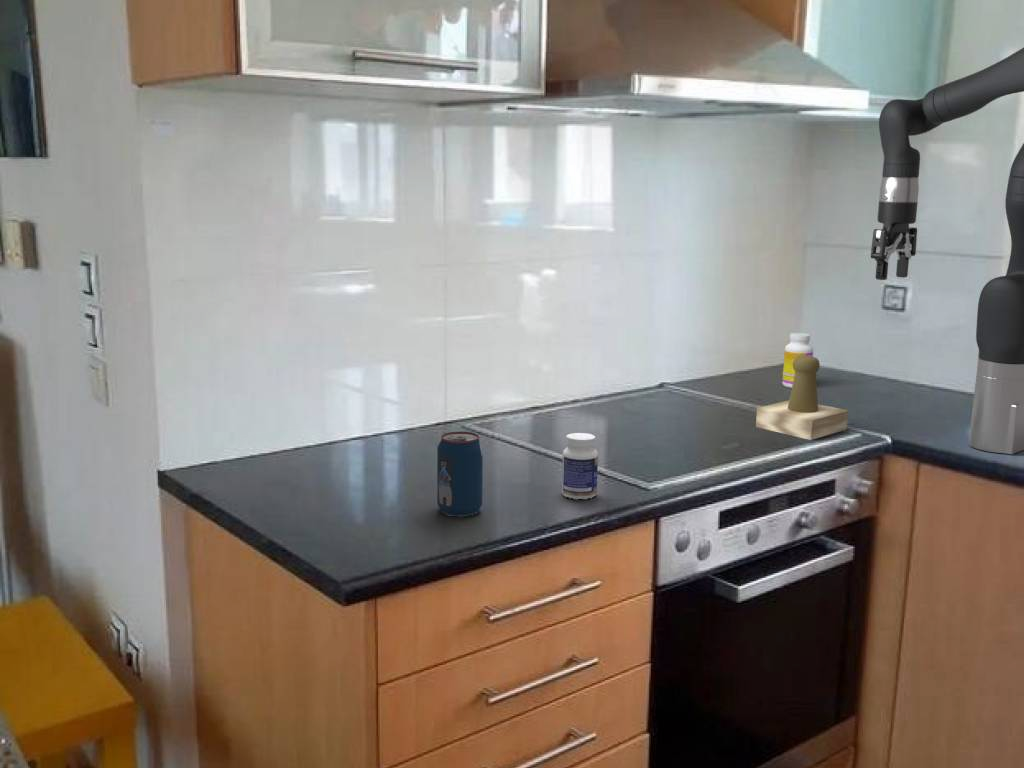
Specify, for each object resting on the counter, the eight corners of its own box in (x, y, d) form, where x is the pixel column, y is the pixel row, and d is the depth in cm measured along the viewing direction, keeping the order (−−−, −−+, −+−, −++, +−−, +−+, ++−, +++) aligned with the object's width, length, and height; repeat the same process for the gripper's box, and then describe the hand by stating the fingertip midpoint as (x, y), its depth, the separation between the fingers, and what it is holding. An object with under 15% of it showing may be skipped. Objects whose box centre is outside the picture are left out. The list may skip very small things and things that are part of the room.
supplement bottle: (805, 390, 248) (809, 337, 245) (778, 387, 251) (782, 334, 249) (814, 385, 253) (818, 333, 251) (787, 382, 257) (791, 331, 254)
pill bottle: (602, 499, 167) (603, 439, 165) (568, 502, 165) (570, 441, 163) (589, 488, 172) (591, 430, 170) (556, 491, 171) (558, 432, 169)
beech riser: (846, 429, 212) (848, 410, 211) (810, 440, 204) (812, 420, 203) (792, 417, 222) (793, 399, 221) (755, 426, 213) (757, 407, 213)
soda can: (486, 505, 163) (486, 431, 161) (477, 520, 157) (478, 443, 154) (442, 502, 164) (443, 429, 162) (432, 517, 158) (432, 440, 155)
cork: (824, 411, 210) (828, 358, 208) (799, 413, 208) (803, 360, 206) (805, 404, 216) (809, 352, 214) (781, 407, 214) (785, 354, 211)
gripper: (898, 201, 206) (891, 282, 210) (932, 199, 216) (925, 277, 219) (863, 199, 212) (857, 279, 215) (898, 198, 221) (891, 274, 225)
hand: (891, 278), depth 217 cm, fingers open, 8 cm apart
